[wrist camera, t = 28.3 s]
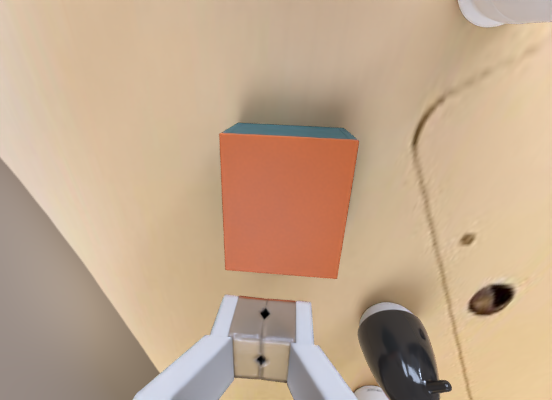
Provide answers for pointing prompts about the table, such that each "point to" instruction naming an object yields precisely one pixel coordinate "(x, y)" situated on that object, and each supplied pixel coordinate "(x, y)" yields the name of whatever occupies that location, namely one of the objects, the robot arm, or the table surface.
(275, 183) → the lid
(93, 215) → the table surface
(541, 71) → the table surface
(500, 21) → the jar
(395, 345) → the pump dispenser
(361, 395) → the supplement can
